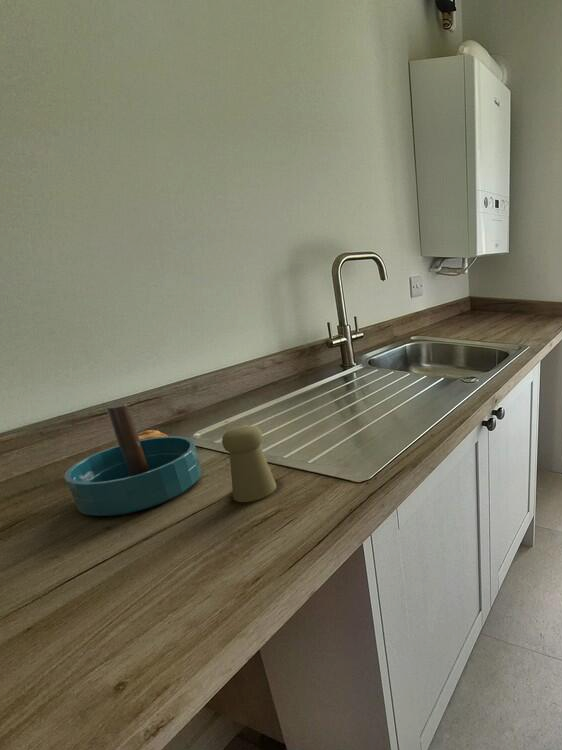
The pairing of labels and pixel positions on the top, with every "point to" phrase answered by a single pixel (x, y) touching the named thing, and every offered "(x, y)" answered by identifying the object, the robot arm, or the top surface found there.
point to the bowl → (133, 477)
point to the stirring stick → (127, 438)
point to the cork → (248, 464)
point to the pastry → (150, 434)
